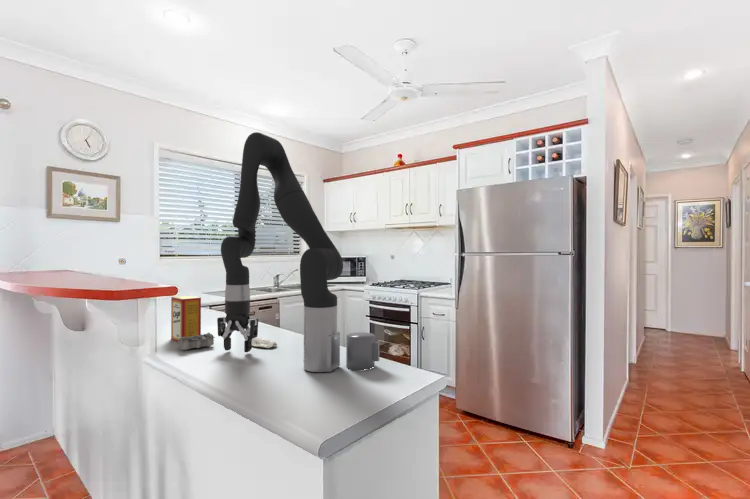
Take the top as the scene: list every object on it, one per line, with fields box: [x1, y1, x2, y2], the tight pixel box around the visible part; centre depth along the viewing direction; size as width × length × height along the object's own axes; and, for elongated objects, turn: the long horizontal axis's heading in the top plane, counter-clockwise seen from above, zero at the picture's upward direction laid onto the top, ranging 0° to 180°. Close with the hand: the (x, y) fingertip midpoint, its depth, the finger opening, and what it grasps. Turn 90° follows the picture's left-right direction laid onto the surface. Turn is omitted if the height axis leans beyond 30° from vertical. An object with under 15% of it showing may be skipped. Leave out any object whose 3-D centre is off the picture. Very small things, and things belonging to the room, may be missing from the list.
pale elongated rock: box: [252, 336, 278, 349], centre depth 134 cm, size 12×5×4 cm
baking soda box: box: [170, 295, 202, 343], centre depth 144 cm, size 10×6×16 cm
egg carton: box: [177, 332, 216, 351], centre depth 132 cm, size 11×8×4 cm
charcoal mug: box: [345, 331, 380, 371], centre depth 111 cm, size 9×8×9 cm
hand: (237, 350), depth 125 cm, fingers open, 7 cm apart
